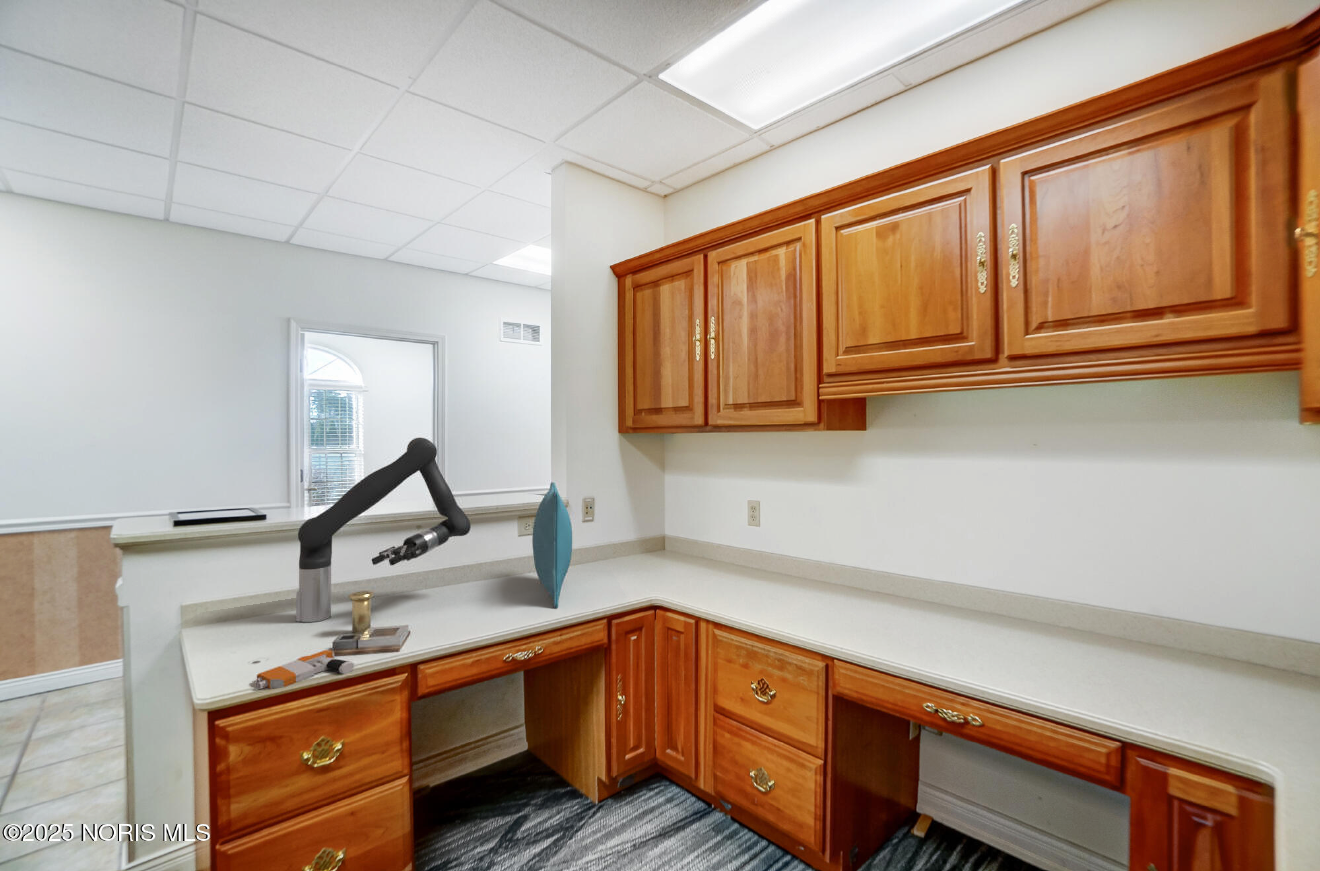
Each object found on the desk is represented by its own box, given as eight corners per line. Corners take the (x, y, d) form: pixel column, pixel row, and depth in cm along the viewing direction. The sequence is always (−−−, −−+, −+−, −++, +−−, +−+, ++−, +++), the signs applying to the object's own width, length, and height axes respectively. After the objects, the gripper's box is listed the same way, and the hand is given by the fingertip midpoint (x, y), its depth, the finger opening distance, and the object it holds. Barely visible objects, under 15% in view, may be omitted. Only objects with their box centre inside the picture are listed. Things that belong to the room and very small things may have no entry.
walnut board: (328, 656, 159) (328, 652, 159) (346, 637, 174) (346, 634, 174) (399, 651, 163) (399, 648, 163) (410, 633, 177) (410, 630, 177)
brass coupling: (346, 636, 175) (346, 596, 175) (353, 629, 181) (353, 591, 181) (369, 635, 176) (369, 595, 176) (375, 628, 182) (375, 590, 182)
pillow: (532, 580, 244) (533, 481, 244) (568, 578, 247) (569, 481, 247) (531, 610, 202) (532, 491, 202) (575, 607, 205) (575, 490, 205)
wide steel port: (358, 649, 162) (358, 640, 162) (369, 635, 173) (369, 627, 173) (400, 646, 164) (400, 637, 164) (408, 633, 175) (408, 624, 175)
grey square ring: (332, 650, 160) (332, 641, 160) (339, 643, 166) (339, 634, 166) (356, 649, 162) (356, 640, 162) (362, 641, 168) (362, 633, 168)
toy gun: (356, 658, 150) (323, 646, 158) (278, 687, 134) (245, 672, 141) (356, 671, 150) (323, 658, 158) (278, 702, 134) (246, 686, 142)
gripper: (404, 533, 204) (364, 551, 190) (433, 533, 198) (393, 551, 184) (409, 553, 206) (369, 572, 191) (438, 553, 199) (398, 573, 185)
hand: (381, 562), depth 188 cm, fingers open, 8 cm apart
